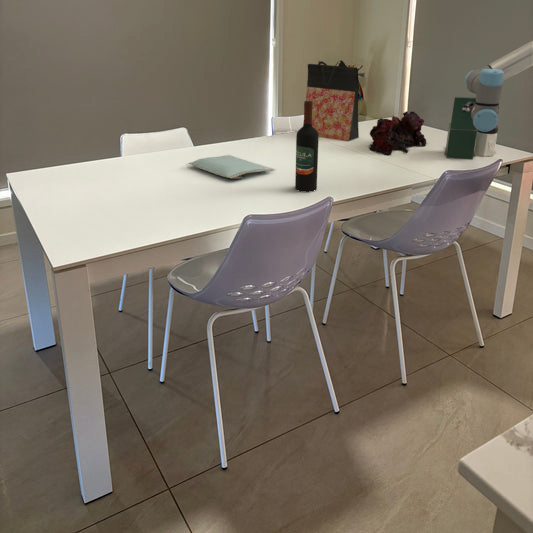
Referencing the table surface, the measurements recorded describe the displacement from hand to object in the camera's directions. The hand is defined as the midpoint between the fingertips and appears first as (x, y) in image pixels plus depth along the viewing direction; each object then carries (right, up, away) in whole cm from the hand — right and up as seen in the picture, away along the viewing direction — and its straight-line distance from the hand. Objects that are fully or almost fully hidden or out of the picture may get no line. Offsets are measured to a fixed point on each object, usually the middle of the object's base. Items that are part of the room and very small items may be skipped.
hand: (477, 102), depth 227 cm
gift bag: (-50, -2, +54) cm, 74 cm away
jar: (+11, -16, +24) cm, 31 cm away
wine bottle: (-68, -36, -20) cm, 79 cm away
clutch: (-96, -26, +1) cm, 99 cm away
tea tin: (0, -16, +23) cm, 28 cm away
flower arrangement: (-23, -10, +35) cm, 44 cm away
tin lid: (-2, -2, +8) cm, 8 cm away
